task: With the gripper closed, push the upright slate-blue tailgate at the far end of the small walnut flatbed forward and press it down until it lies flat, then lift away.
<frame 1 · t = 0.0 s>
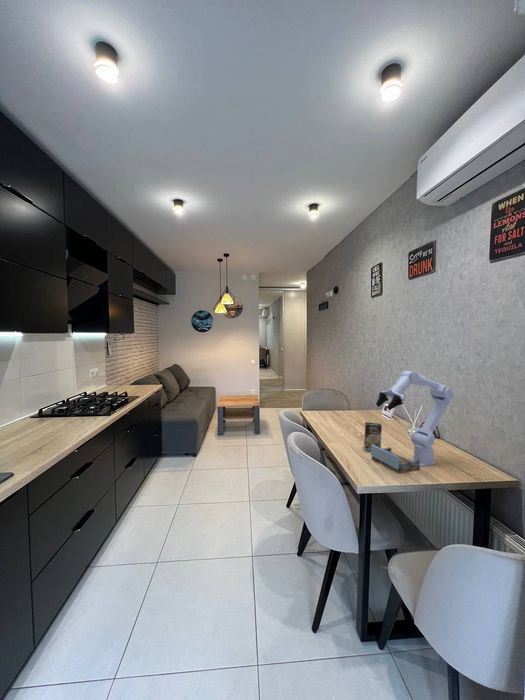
hand: (382, 407, 149), 32 cm above the table, tool tilted 50°, fingers open, 7 cm apart
flatbed: (394, 463, 159), on the table
tailgate: (384, 456, 156), point 5 cm above the table, hinge at 0.0°
coffee box: (372, 450, 177), on the table
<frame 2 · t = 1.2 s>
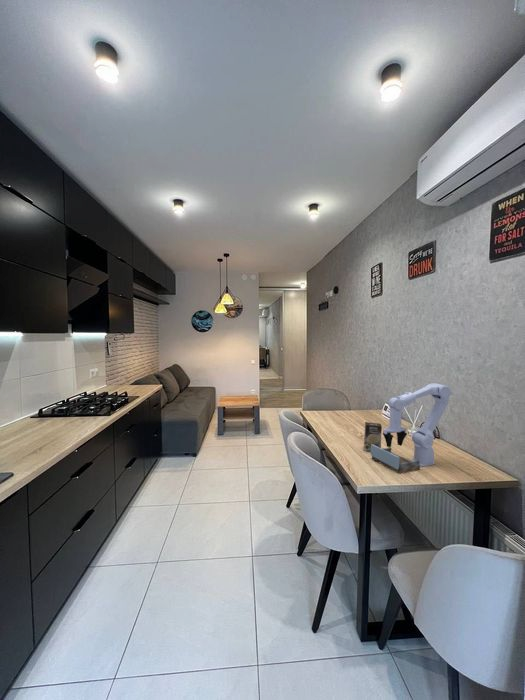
hand: (394, 445, 158), 10 cm above the table, tool pointing down, fingers open, 7 cm apart
nothing on the table moved.
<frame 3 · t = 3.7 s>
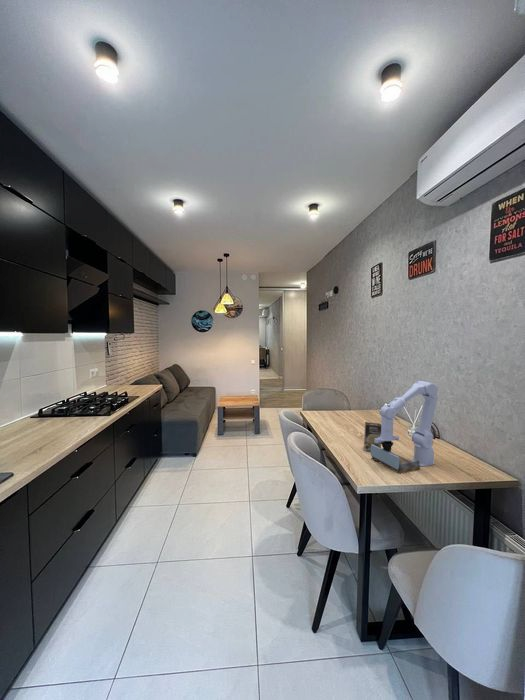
hand: (386, 454, 156), 5 cm above the table, tool pointing down, fingers closed, pressing on tailgate
tailgate: (384, 456, 156), point 5 cm above the table, hinge at 0.4°, touching gripper
everything else where it was.
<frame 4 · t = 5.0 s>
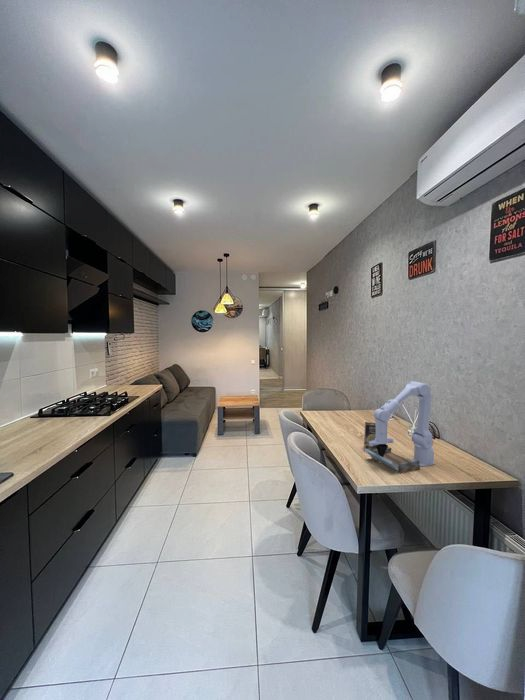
hand: (381, 457, 155), 4 cm above the table, tool pointing down, fingers closed, pressing on tailgate
tailgate: (381, 459, 155), point 4 cm above the table, hinge at 46.7°, touching gripper
everything else where it was.
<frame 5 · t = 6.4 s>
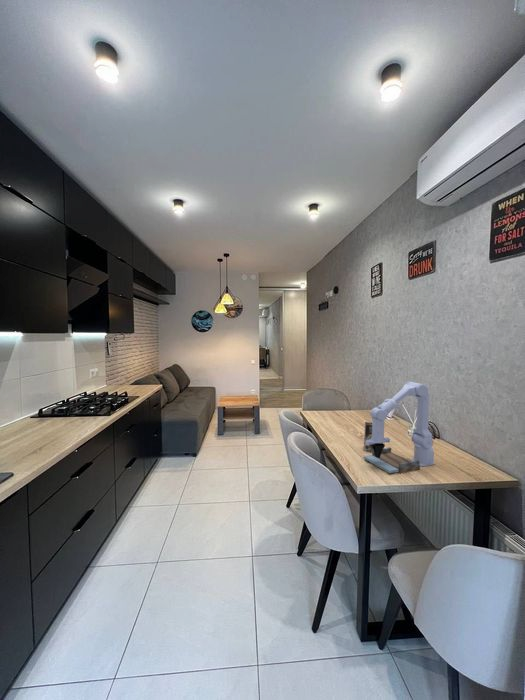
hand: (377, 457, 154), 5 cm above the table, tool pointing down, fingers closed
tailgate: (380, 463, 155), point 1 cm above the table, hinge at 89.6°
everything else where it was.
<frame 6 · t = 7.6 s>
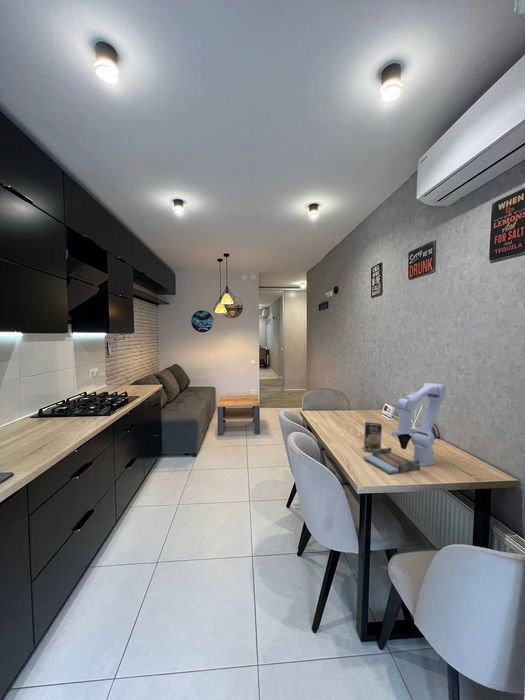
hand: (403, 448, 152), 10 cm above the table, tool pointing down, fingers closed
nothing on the table moved.
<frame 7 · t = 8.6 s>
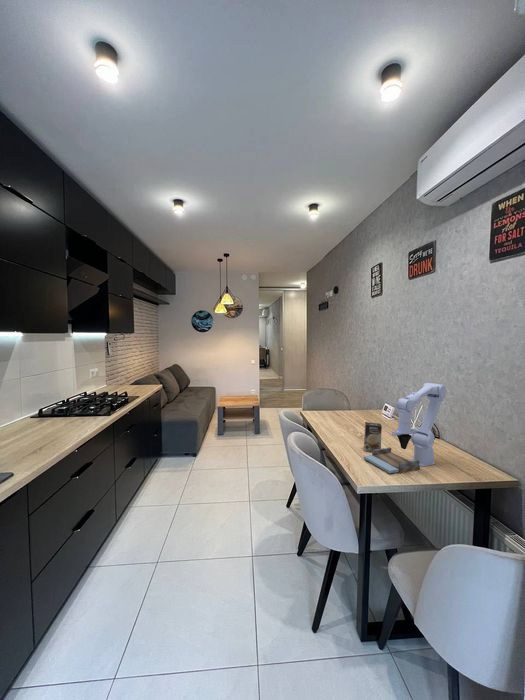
hand: (403, 448, 152), 10 cm above the table, tool pointing down, fingers closed
nothing on the table moved.
at the end: tailgate at +90° (first picture: +0°); coffee box moved 0.2 cm from its start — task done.
